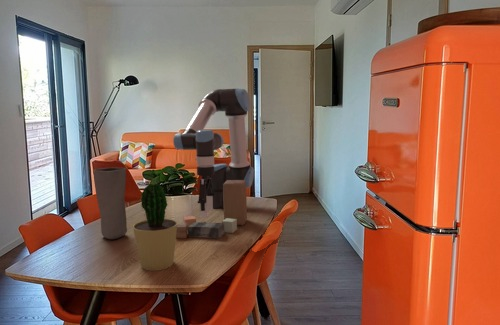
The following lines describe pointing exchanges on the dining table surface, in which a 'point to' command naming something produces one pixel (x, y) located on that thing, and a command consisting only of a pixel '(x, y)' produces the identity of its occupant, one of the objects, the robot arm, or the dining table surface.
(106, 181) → the vase
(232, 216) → the wooden block
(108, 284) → the dining table surface
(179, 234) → the walnut cube
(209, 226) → the stone block
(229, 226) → the sage cube
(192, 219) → the terracotta cube
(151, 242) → the potted cactus
